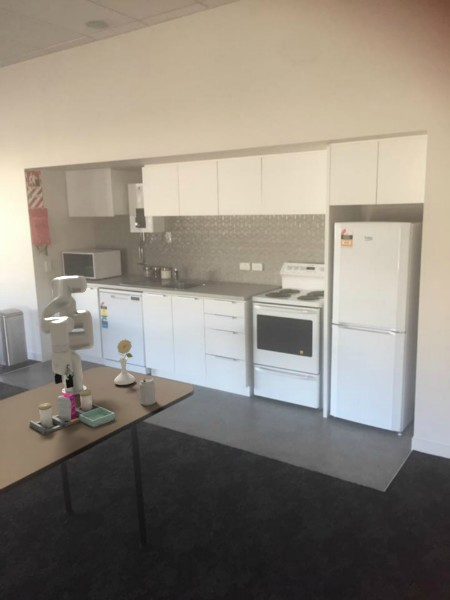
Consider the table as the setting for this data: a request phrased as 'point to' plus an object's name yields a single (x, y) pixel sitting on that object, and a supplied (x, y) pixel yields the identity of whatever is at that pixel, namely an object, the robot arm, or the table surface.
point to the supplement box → (66, 407)
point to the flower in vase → (124, 364)
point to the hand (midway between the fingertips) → (64, 385)
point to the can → (147, 391)
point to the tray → (97, 417)
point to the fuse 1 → (46, 415)
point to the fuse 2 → (86, 400)
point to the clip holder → (58, 422)
